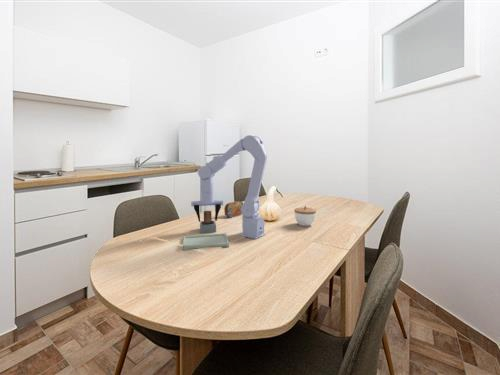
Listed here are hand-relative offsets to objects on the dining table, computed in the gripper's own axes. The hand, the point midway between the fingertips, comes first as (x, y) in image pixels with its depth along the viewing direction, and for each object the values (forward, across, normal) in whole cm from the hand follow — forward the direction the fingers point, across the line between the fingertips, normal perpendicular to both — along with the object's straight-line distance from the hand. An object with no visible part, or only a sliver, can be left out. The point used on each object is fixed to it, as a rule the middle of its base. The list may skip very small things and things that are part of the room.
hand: (207, 220), depth 134 cm
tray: (+5, +1, +16) cm, 17 cm away
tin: (+6, -16, -28) cm, 33 cm away
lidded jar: (+5, -49, -3) cm, 50 cm away
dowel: (+5, 0, 0) cm, 5 cm away
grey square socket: (+5, 0, 0) cm, 5 cm away
